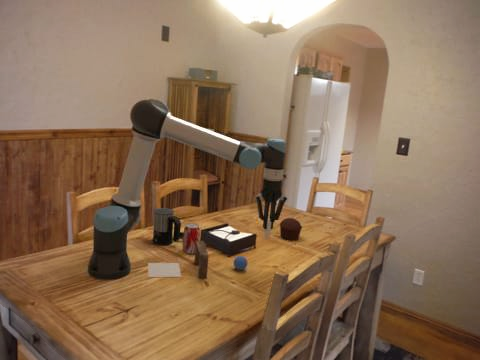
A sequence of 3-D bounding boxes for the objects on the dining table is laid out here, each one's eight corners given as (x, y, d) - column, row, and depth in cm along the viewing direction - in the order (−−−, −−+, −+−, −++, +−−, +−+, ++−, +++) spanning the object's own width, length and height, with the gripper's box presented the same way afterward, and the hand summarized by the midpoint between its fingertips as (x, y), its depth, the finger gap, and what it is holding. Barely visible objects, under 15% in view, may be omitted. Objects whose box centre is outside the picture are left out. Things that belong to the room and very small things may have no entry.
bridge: (198, 278, 149) (200, 255, 147) (194, 262, 163) (196, 240, 161) (206, 278, 150) (208, 255, 148) (201, 262, 163) (203, 240, 161)
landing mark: (148, 277, 146) (148, 277, 146) (148, 263, 157) (148, 263, 157) (181, 277, 149) (181, 276, 148) (178, 263, 160) (178, 263, 160)
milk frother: (148, 243, 177) (149, 211, 174) (163, 232, 192) (165, 203, 189) (178, 249, 174) (180, 216, 171) (190, 237, 189) (193, 207, 186)
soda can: (195, 256, 169) (197, 229, 166) (179, 253, 170) (181, 226, 167) (200, 250, 175) (202, 224, 173) (185, 247, 177) (187, 221, 174)
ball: (234, 272, 157) (235, 259, 155) (231, 266, 162) (233, 253, 161) (248, 272, 158) (249, 259, 157) (244, 266, 163) (246, 253, 162)
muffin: (304, 241, 199) (307, 222, 197) (285, 242, 195) (287, 223, 193) (293, 233, 210) (295, 215, 207) (274, 234, 205) (276, 215, 203)
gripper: (259, 180, 149) (253, 239, 154) (292, 181, 152) (285, 239, 157) (254, 176, 156) (248, 233, 161) (285, 177, 159) (279, 233, 164)
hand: (266, 236), depth 159 cm, fingers closed
